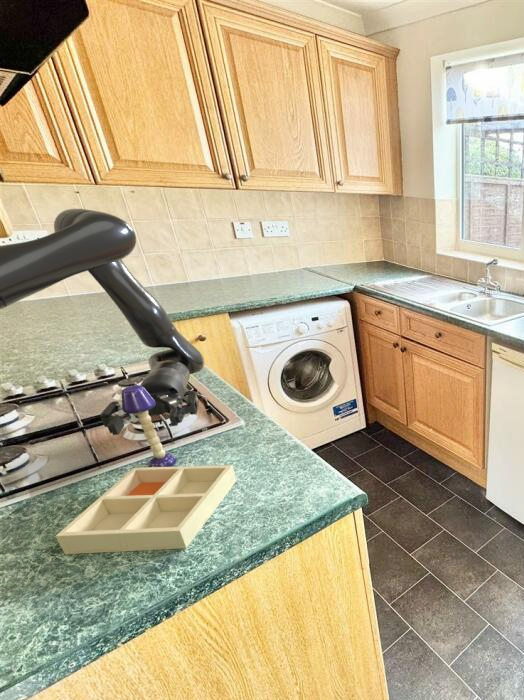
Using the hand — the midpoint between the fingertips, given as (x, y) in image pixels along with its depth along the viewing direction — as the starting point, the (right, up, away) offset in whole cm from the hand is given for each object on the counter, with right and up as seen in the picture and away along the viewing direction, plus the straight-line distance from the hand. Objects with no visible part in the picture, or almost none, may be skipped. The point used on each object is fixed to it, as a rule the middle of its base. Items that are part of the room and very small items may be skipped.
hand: (144, 426), depth 76 cm
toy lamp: (-1, -8, +5) cm, 10 cm away
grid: (+9, -14, -6) cm, 18 cm away
